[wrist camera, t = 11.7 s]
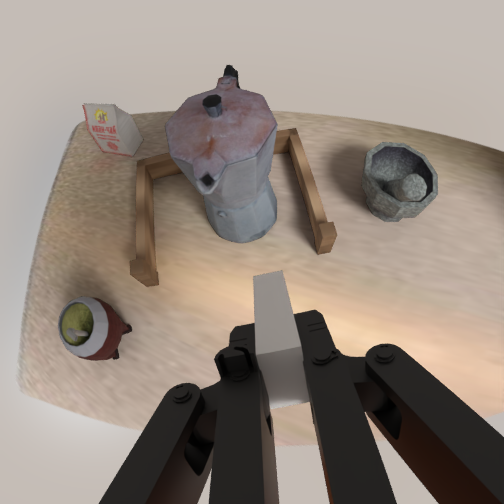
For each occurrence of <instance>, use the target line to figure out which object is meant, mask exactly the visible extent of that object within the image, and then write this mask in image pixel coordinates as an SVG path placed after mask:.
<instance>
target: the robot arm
mask: <svg viewBox="0 0 504 504" xmlns="http://www.w3.org/2000/svg"><path fill="white" fill-rule="evenodd" d="M253 284H254V315H255V323H252V324H247V325H241V326H236V327H235V328H234V329H233V330H232V332H231V333H230V340H229V342H230V343H229V346H228V347H226V348H224V349H222V350H220V351H219V352H218V353H217V354H216V356H215V358H214V360H215V363H216V366H217V369H218V371H219V374H220V377H221V380H220V381H219V382H217V383H216V384H214V385H211V386H209V387H206V388H203V389H201V390H200V388H199V387H198V386H197V385H195V384H191V383H182V384H179V385H176V386H174V387H173V388H171V389H170V390H169V391H168V392H167V393H166V394H165V396H164V398H163V399H162V401H161V403H160V404H159V406H158V407H157V409H156V411H155V412H154V414H153V416H152V417H151V419H150V421H149V422H148V424H147V425H146V427H145V429H144V430H143V432H142V434H141V436H140V437H139V439H138V440H137V442H136V443H135V445H134V447H133V448H132V450H131V452H130V453H129V455H128V457H127V458H126V460H125V461H124V463H123V465H122V466H121V468H120V470H119V471H118V473H117V474H116V476H115V478H114V480H113V481H112V483H111V484H110V486H109V488H108V489H107V491H106V492H105V494H104V496H103V497H102V499H101V501H100V502H99V504H197V503H198V501H199V498H200V496H201V493H202V491H203V488H204V486H205V484H206V481H207V479H208V476H209V474H210V471H211V468H212V472H211V483H210V494H209V504H279V495H278V482H277V469H276V457H275V445H274V432H273V420H272V416H271V413H270V408H271V409H274V408H280V407H285V406H291V405H296V404H301V403H306V402H310V405H311V411H312V417H313V424H314V426H315V431H316V436H317V441H318V445H319V450H320V456H321V460H322V466H323V470H324V476H325V481H326V486H327V492H328V497H329V502H330V504H397V503H396V500H395V497H394V494H393V491H392V488H391V485H390V482H389V479H388V476H387V473H386V470H385V467H384V464H383V462H382V459H381V456H380V453H379V450H378V448H377V445H376V442H375V439H374V436H373V434H372V431H371V428H370V426H369V423H368V420H367V417H366V415H365V412H366V413H367V415H368V417H369V418H370V419H371V420H372V422H373V423H374V424H375V425H376V427H377V428H378V429H379V430H380V432H381V433H382V434H383V435H384V437H385V438H386V439H387V440H388V442H389V443H390V444H391V445H392V446H393V448H394V449H395V450H396V451H397V452H398V454H399V455H400V456H401V458H402V459H403V460H404V461H405V463H406V464H407V465H408V466H409V468H410V469H411V470H412V471H413V473H414V474H415V475H416V476H417V478H418V479H419V480H420V481H421V482H422V484H423V485H424V486H425V487H426V489H427V490H428V491H429V492H430V494H431V495H432V496H433V497H434V498H435V500H436V501H437V502H438V503H439V504H504V437H503V436H502V435H501V434H500V433H499V432H497V431H496V430H495V429H494V428H493V427H492V426H490V424H488V423H487V422H486V421H485V420H484V419H483V418H482V417H480V416H479V415H478V414H477V413H476V412H475V411H474V410H472V409H471V408H470V407H469V406H468V405H467V404H466V403H464V402H463V401H462V400H461V399H460V398H459V397H457V396H456V395H455V394H454V393H453V392H452V391H451V390H449V389H448V388H447V387H446V386H445V385H444V384H442V383H441V382H440V381H439V380H438V379H437V378H435V377H434V376H433V375H432V374H431V373H430V372H428V371H427V370H426V369H425V368H424V367H422V366H421V365H420V364H419V363H418V362H417V361H415V360H414V359H413V358H412V357H411V356H409V355H408V354H407V353H406V352H405V351H403V350H402V349H401V348H400V347H398V346H396V345H393V344H380V345H376V346H374V347H372V348H371V349H369V350H368V352H367V353H366V357H350V356H345V355H343V354H341V352H340V351H339V350H338V349H336V347H335V345H334V342H333V340H332V337H331V335H330V332H329V330H328V328H327V325H326V323H325V320H324V317H323V315H322V314H321V313H319V312H318V311H317V310H311V311H307V312H302V313H297V314H293V310H292V307H291V303H290V299H289V295H288V291H287V287H286V283H285V279H284V275H283V271H282V270H281V271H277V272H272V273H267V274H262V275H257V276H253ZM269 404H270V405H269Z"/></svg>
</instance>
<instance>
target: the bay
mask: <svg viewBox="0 0 504 504" xmlns="http://www.w3.org/2000/svg"><path fill="white" fill-rule="evenodd" d="M284 152H289V153H290V156H291V159H292V162H293V165H294V169H295V172H296V175H297V178H298V182H299V185H300V188H301V191H302V195H303V198H304V202H305V205H306V208H307V212H308V215H309V219H310V222H311V226H312V230H313V233H314V237H315V242H314V243H315V247H316V250H317V254H318V255H319V254H324V253H329V252H331V249H332V247H333V244H334V242H335V239H336V237H337V233H336V229H335V226H334V223H333V222H327V218H326V215H325V212H324V209H323V205H322V202H321V199H320V196H319V193H318V190H317V187H316V184H315V181H314V178H313V175H312V172H311V169H310V166H309V163H308V160H307V157H306V155H305V152H304V149H303V146H302V143H301V141H300V138H299V135H298V132H297V130H296V128H294V129H287V130H280V131H276V138H275V144H274V151H273V154H278V153H284ZM178 173H182V171H181V169H180V168H179V167H178V165H177V164H176V163H175V162H174V160H173V159H172V158H171V155H170V153H166V154H162V155H158V156H154V157H150V158H147V159H143V160H139V161H137V178H136V260H132V261H130V275H132V276H133V277H134V278H136V279H137V280H138V281H140V282H141V283H142V284H144V285H145V286H147V287H149V286H155V285H159V281H158V272H157V271H156V259H155V239H154V211H153V179H157V178H161V177H165V176H169V175H173V174H178Z"/></svg>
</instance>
